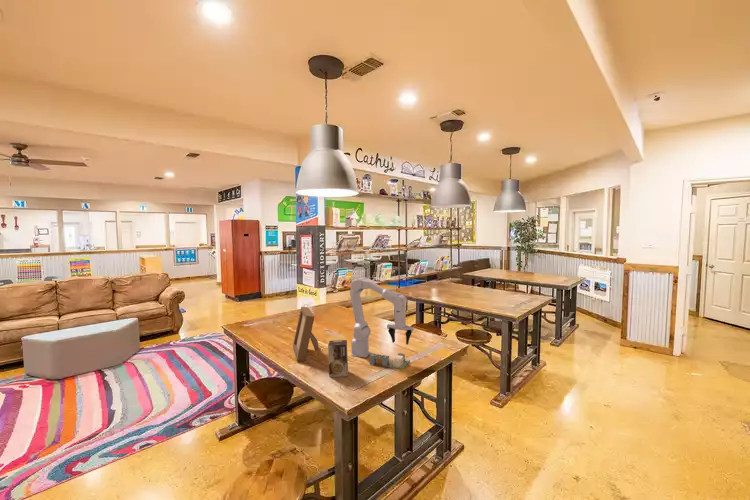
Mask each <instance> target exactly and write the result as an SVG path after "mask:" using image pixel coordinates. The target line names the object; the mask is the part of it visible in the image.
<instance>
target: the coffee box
mask: <svg viewBox="0 0 750 500" xmlns="http://www.w3.org/2000/svg"><path fill="white" fill-rule="evenodd" d="M327 349H328V352H327V353H328V373H329V374H328V376H329V378H335V377H336V378H337V377H340V378H341V377H348V375H349V363H348V361H349V360H348V359H349V357H348V340H347V339H338V340H329V341H328V345H327Z"/></svg>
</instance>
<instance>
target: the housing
mask: <svg viewBox="0 0 750 500" xmlns="http://www.w3.org/2000/svg"><path fill="white" fill-rule="evenodd" d="M368 356H369V365H373V366H375V365H376V364H377V359H380V360H382V365H381V366H382V367H383V368H385V367H386V368H388V367H389V365H390V355H386V354H379V353H372V352H371V353H370V354H369V355H368Z"/></svg>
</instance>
